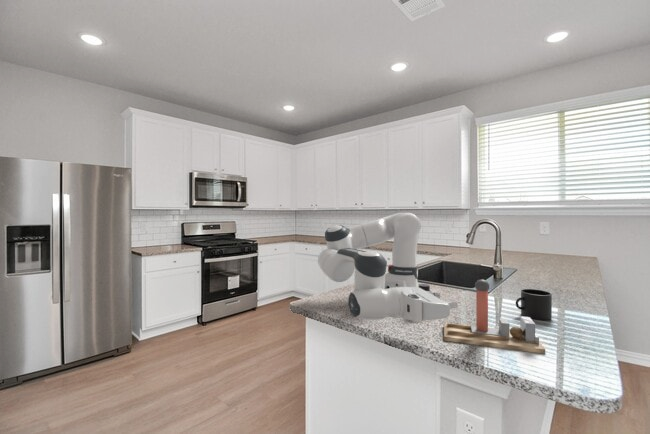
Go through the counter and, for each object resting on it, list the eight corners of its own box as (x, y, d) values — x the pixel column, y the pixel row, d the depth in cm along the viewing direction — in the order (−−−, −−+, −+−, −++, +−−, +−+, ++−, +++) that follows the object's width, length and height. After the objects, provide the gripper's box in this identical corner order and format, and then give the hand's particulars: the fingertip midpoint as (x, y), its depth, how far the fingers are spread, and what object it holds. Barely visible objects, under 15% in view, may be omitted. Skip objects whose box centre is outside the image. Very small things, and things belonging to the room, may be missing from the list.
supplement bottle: (430, 317, 113) (430, 287, 113) (414, 315, 117) (414, 285, 116) (433, 313, 118) (433, 284, 118) (418, 310, 122) (418, 282, 121)
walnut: (511, 339, 91) (511, 328, 91) (508, 335, 94) (508, 324, 94) (524, 341, 90) (524, 329, 90) (521, 336, 93) (521, 325, 93)
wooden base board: (444, 340, 94) (444, 333, 94) (443, 326, 105) (443, 320, 105) (545, 353, 84) (545, 345, 84) (533, 336, 95) (533, 329, 95)
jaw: (525, 342, 88) (525, 323, 88) (520, 335, 94) (520, 316, 94) (539, 344, 87) (539, 324, 87) (533, 336, 93) (533, 317, 93)
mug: (508, 311, 119) (508, 288, 119) (540, 312, 119) (541, 289, 118) (523, 320, 110) (523, 295, 110) (557, 320, 109) (558, 295, 109)
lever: (472, 335, 94) (472, 280, 94) (470, 329, 99) (470, 277, 98) (509, 339, 90) (509, 283, 90) (506, 333, 95) (506, 279, 95)
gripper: (391, 302, 101) (430, 299, 103) (419, 325, 81) (467, 321, 83) (391, 283, 101) (430, 281, 103) (419, 301, 81) (467, 298, 83)
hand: (447, 299), depth 93 cm, fingers open, 8 cm apart
